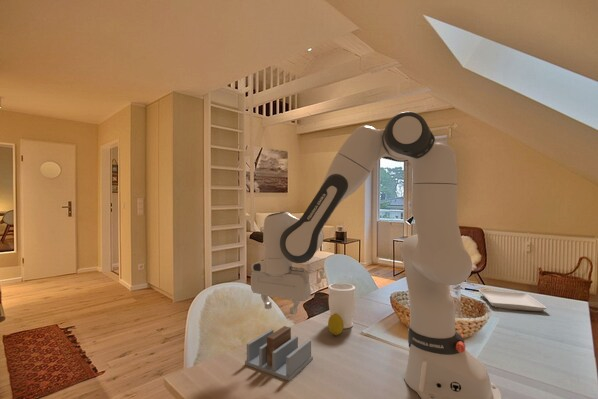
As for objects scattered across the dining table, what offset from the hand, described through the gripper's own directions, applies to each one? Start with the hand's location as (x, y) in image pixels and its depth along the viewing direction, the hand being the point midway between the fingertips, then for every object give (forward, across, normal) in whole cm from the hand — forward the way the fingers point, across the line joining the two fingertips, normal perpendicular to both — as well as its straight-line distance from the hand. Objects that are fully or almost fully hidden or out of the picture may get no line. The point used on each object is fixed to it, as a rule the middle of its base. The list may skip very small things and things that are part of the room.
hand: (280, 311), depth 91 cm
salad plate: (+19, -61, -97) cm, 116 cm away
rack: (+15, +1, 0) cm, 15 cm away
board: (+14, +1, 0) cm, 14 cm away
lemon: (+16, -6, -25) cm, 30 cm away
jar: (+16, -4, -35) cm, 38 cm away
